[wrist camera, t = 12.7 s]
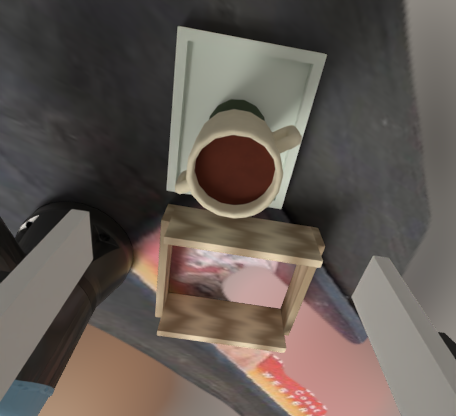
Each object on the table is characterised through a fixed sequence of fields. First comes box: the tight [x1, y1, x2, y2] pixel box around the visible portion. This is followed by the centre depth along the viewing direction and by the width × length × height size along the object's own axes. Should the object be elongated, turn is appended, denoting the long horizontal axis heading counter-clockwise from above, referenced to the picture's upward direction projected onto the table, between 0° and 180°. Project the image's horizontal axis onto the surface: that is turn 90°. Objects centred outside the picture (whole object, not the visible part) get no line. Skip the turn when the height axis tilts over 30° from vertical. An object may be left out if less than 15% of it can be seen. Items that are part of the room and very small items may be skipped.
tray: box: [166, 26, 327, 209], centre depth 33 cm, size 14×17×2 cm
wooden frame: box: [155, 204, 325, 353], centre depth 41 cm, size 20×17×7 cm
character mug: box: [175, 99, 302, 218], centre depth 27 cm, size 11×7×13 cm, turn 115°
